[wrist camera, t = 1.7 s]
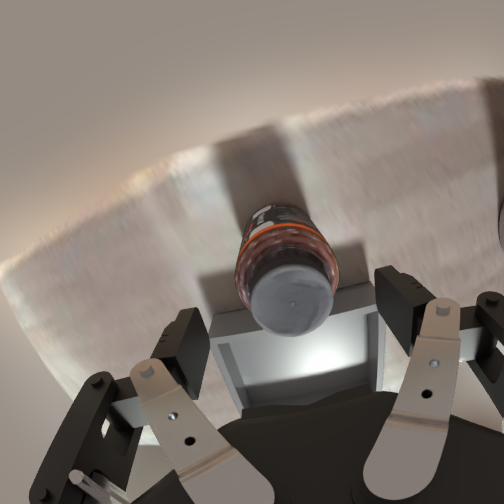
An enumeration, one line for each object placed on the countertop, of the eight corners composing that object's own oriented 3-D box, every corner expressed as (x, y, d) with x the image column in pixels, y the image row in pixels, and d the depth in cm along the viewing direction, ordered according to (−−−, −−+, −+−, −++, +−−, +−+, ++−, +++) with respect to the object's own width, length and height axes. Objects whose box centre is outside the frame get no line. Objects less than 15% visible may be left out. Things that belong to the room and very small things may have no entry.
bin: (369, 281, 24) (385, 301, 21) (371, 377, 28) (381, 400, 24) (214, 314, 26) (206, 338, 22) (247, 402, 30) (245, 427, 26)
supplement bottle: (239, 205, 23) (218, 247, 12) (312, 198, 22) (356, 234, 11) (248, 273, 24) (237, 357, 14) (316, 266, 24) (351, 345, 13)
